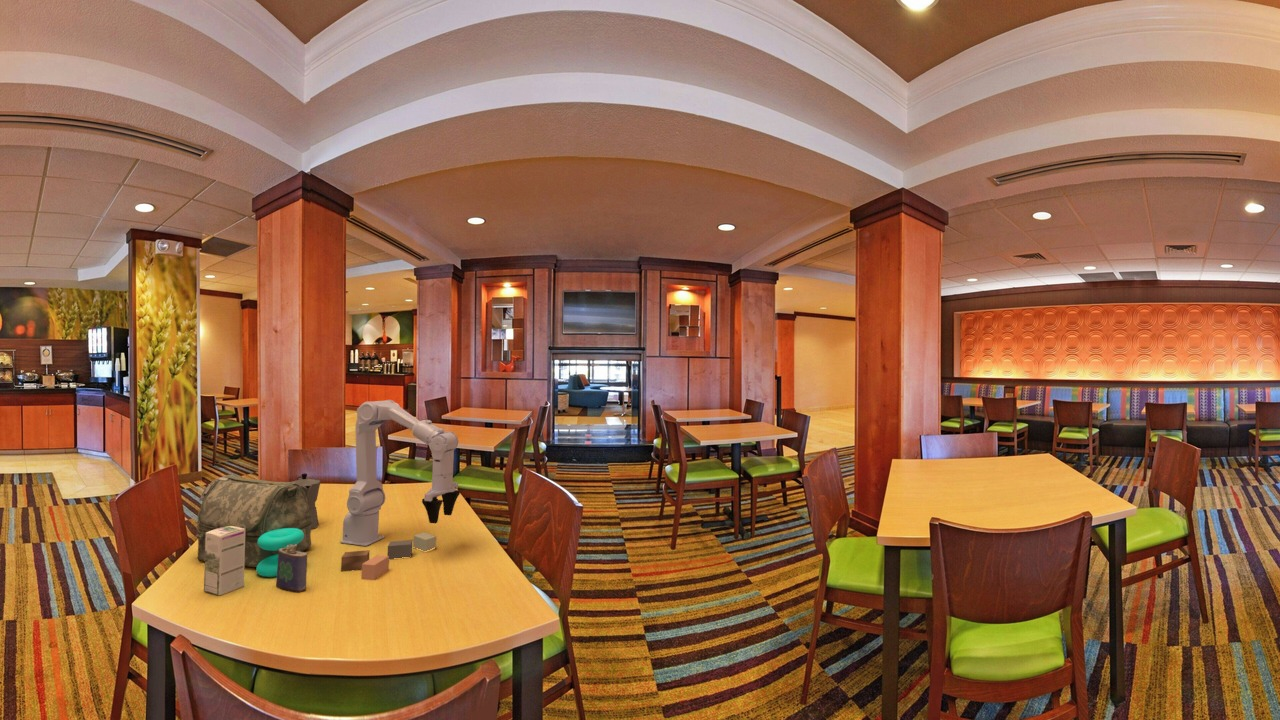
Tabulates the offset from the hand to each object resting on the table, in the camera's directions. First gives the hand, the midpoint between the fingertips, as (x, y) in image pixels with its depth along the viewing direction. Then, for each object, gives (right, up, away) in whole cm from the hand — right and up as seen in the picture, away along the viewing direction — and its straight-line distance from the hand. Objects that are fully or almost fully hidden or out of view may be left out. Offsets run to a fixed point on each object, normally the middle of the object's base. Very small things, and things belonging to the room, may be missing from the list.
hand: (440, 518), depth 145 cm
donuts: (-36, -9, -16) cm, 41 cm away
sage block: (-6, -10, +2) cm, 12 cm away
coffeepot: (-53, -8, +16) cm, 56 cm away
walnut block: (-18, -9, -12) cm, 24 cm away
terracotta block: (-11, -10, -16) cm, 22 cm away
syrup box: (-42, -9, -27) cm, 50 cm away
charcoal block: (-10, -10, -4) cm, 15 cm away
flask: (-27, -9, -25) cm, 38 cm away
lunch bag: (-51, -8, -7) cm, 52 cm away
